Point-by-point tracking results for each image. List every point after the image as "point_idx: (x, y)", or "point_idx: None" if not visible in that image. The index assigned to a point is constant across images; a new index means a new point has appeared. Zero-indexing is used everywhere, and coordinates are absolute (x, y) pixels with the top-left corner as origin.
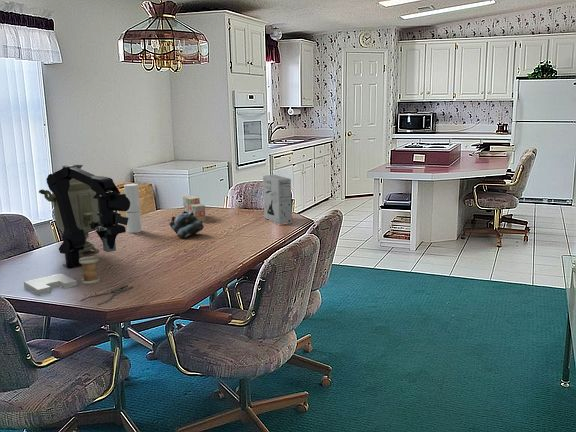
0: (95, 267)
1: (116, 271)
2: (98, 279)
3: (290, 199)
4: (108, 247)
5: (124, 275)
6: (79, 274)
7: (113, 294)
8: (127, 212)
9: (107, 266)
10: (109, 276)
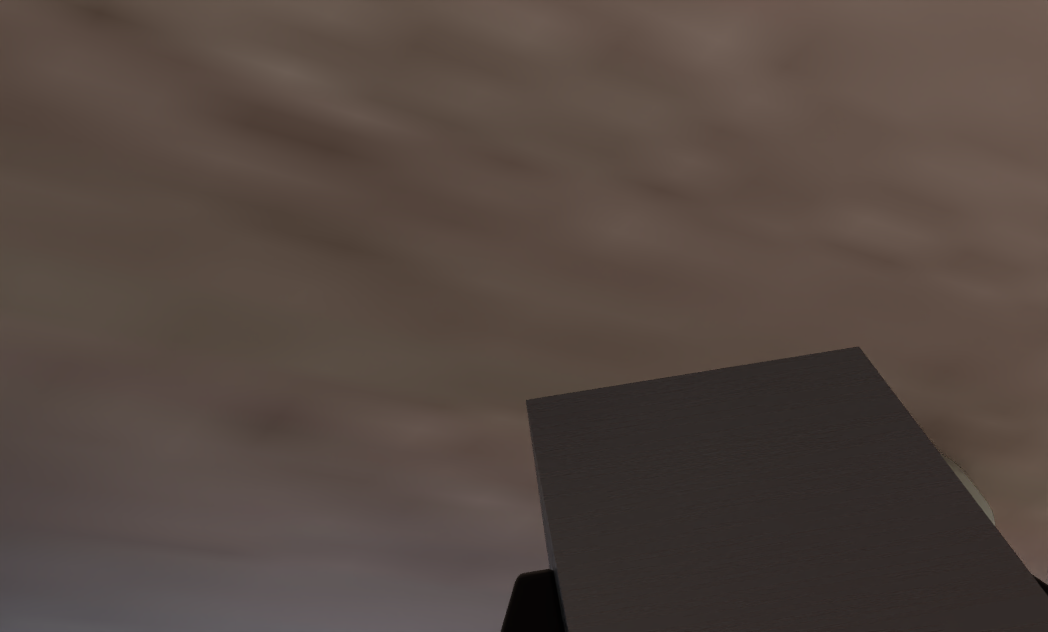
0: None
1: (659, 115)
2: (981, 504)
3: None
4: None
5: (1031, 84)
6: (395, 586)
7: None
8: None
9: (140, 142)
10: (848, 304)
